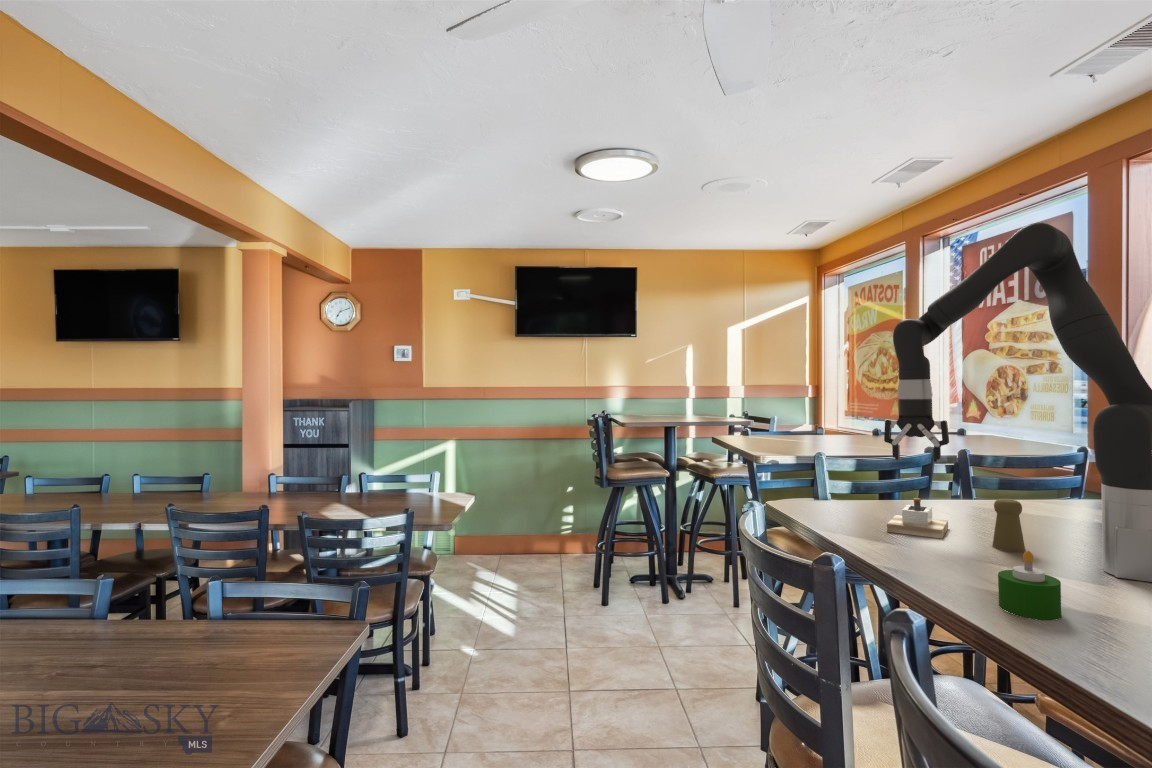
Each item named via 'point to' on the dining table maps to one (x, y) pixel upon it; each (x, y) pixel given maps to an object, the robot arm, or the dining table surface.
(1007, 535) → the cork
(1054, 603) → the candle
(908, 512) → the white hollow block
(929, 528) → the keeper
